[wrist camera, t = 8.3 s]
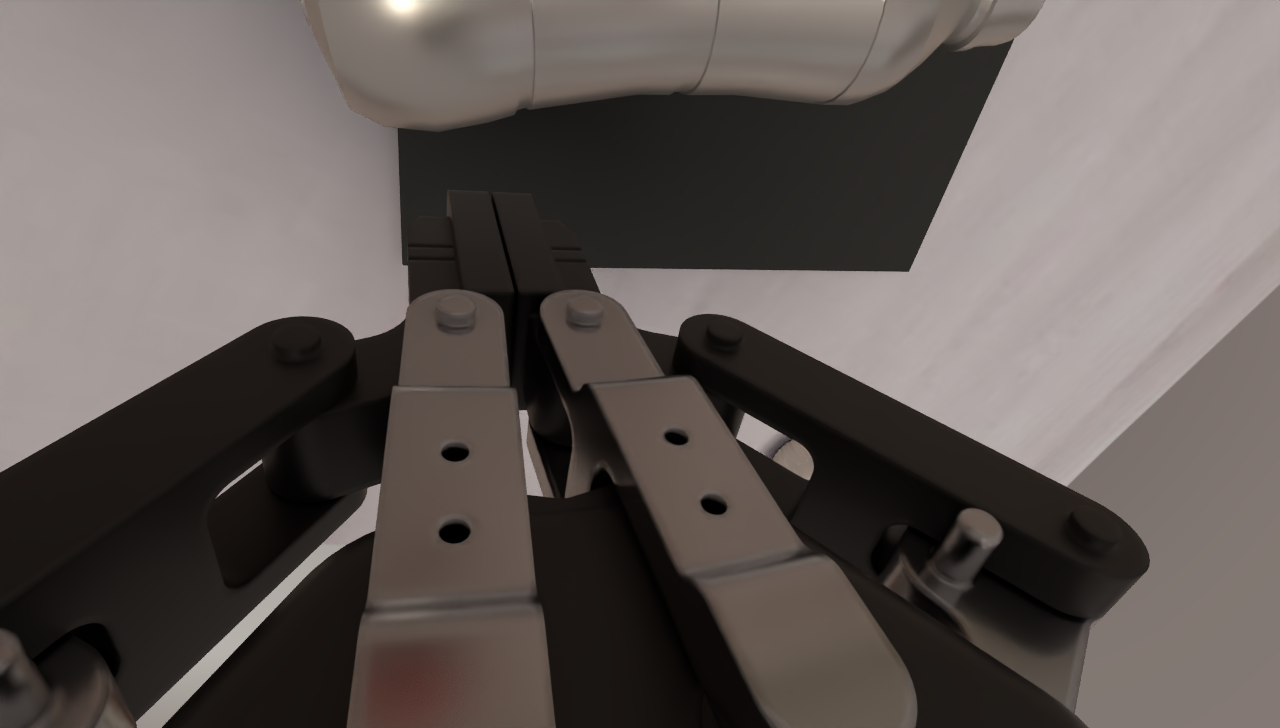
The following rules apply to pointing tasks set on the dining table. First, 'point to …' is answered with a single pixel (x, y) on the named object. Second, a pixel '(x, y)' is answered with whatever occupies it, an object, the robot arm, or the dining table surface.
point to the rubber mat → (723, 171)
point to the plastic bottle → (633, 50)
